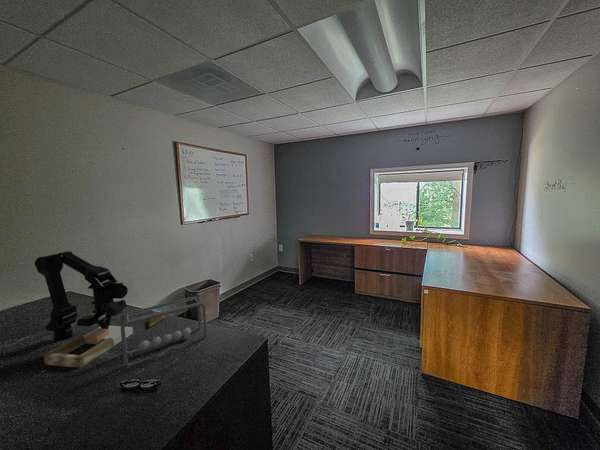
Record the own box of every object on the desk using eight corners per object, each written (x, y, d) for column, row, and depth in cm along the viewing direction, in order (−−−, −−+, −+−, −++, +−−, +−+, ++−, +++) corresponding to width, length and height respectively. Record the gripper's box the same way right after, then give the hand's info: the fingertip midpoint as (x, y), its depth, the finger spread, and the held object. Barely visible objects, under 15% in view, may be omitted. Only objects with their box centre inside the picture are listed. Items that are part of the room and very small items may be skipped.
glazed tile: (86, 341, 103) (85, 335, 103) (98, 333, 109) (97, 328, 108) (97, 342, 103) (96, 336, 102) (109, 334, 108) (108, 329, 108)
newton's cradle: (124, 369, 90) (120, 324, 88) (123, 355, 98) (119, 313, 96) (207, 340, 108) (205, 302, 106) (201, 330, 116) (198, 294, 114)
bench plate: (82, 343, 107) (81, 336, 107) (103, 331, 117) (103, 325, 116) (114, 345, 104) (113, 339, 104) (133, 333, 114) (132, 327, 114)
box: (44, 364, 93) (43, 354, 93) (81, 343, 106) (80, 335, 106) (80, 368, 91) (79, 358, 90) (113, 346, 104) (112, 337, 104)
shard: (149, 328, 118) (149, 324, 118) (136, 326, 120) (136, 322, 120) (167, 318, 128) (166, 314, 128) (155, 316, 130) (155, 313, 130)
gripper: (97, 307, 97) (102, 344, 99) (135, 290, 116) (138, 321, 117) (73, 306, 99) (78, 342, 100) (114, 289, 117) (117, 320, 119)
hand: (105, 330), depth 109 cm, fingers closed
